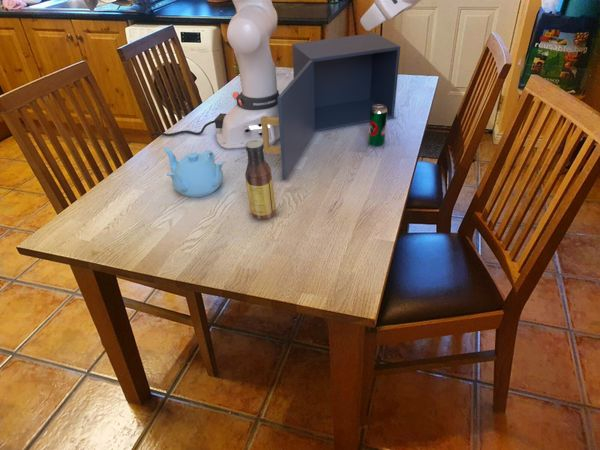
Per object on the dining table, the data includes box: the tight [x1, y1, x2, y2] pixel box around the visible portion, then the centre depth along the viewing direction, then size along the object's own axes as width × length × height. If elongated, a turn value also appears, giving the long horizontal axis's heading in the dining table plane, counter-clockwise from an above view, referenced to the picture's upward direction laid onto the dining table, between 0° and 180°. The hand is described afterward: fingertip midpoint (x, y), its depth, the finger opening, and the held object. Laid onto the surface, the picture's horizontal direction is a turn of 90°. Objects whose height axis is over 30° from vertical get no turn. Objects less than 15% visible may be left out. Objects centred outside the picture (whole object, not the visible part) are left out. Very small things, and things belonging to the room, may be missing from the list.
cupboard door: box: [261, 60, 315, 181], centre depth 132 cm, size 7×30×24 cm, turn 163°
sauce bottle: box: [244, 139, 276, 221], centre depth 109 cm, size 7×6×20 cm
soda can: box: [367, 104, 388, 148], centre depth 140 cm, size 5×5×12 cm
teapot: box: [163, 147, 226, 198], centre depth 123 cm, size 15×15×10 cm
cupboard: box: [291, 32, 401, 133], centre depth 154 cm, size 18×30×24 cm, turn 108°
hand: (375, 16), depth 128 cm, fingers open, 8 cm apart
